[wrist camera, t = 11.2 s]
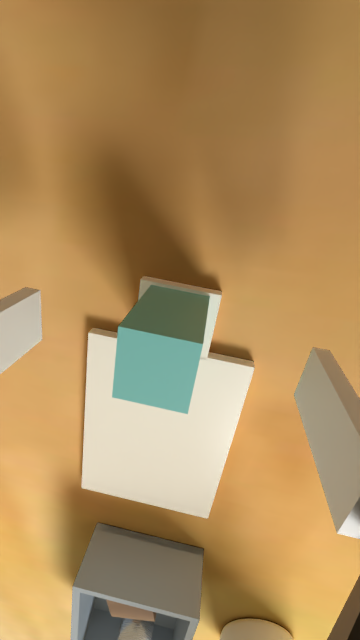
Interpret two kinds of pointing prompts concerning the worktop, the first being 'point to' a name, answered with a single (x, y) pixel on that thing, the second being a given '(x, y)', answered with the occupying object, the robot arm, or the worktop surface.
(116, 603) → the walnut part
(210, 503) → the lid
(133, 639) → the metal part
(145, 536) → the tub
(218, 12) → the worktop surface
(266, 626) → the milk bottle
